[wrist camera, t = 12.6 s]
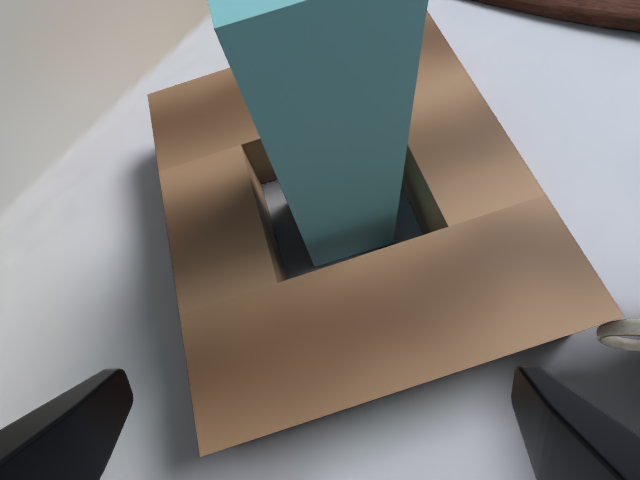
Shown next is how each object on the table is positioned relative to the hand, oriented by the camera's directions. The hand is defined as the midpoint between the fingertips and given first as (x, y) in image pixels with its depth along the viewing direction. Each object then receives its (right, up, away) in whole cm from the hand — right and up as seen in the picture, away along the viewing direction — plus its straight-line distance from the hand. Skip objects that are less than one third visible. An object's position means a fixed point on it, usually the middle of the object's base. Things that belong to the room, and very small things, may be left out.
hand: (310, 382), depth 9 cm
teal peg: (+1, +4, +11) cm, 12 cm away
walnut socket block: (+1, +4, +11) cm, 12 cm away
